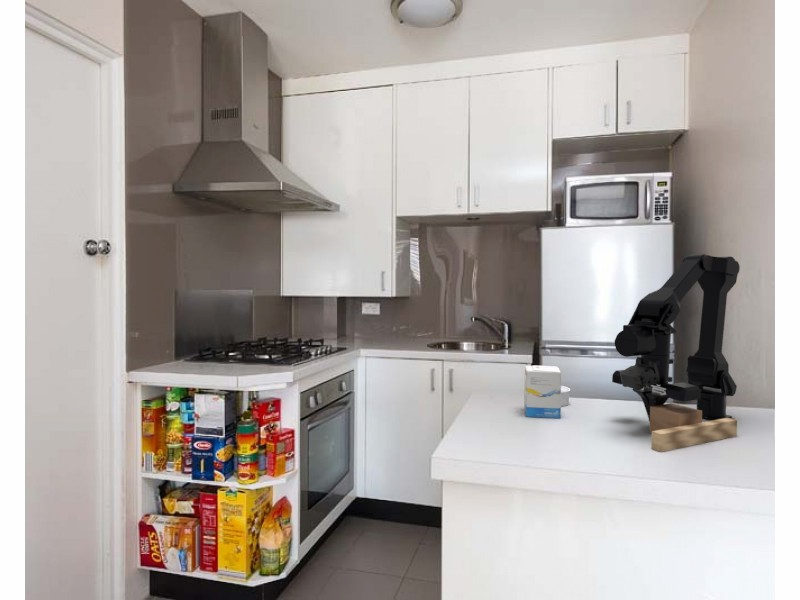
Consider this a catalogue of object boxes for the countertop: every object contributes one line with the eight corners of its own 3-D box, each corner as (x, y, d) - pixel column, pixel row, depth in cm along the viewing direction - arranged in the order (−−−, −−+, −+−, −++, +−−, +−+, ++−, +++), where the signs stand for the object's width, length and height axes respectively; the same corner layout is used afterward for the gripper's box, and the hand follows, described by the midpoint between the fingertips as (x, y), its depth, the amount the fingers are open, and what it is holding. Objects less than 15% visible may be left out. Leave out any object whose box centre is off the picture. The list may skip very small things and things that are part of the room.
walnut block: (671, 429, 109) (671, 403, 109) (701, 438, 103) (702, 410, 103) (649, 433, 107) (650, 406, 106) (679, 443, 100) (679, 414, 100)
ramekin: (571, 408, 128) (571, 392, 128) (536, 406, 131) (536, 390, 131) (569, 400, 137) (569, 385, 137) (536, 398, 139) (536, 383, 139)
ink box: (561, 419, 118) (561, 371, 118) (525, 417, 120) (526, 370, 120) (557, 410, 127) (557, 365, 126) (523, 408, 128) (524, 364, 128)
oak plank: (727, 433, 107) (727, 417, 107) (736, 436, 105) (737, 420, 105) (651, 448, 97) (651, 431, 97) (660, 451, 95) (660, 434, 95)
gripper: (596, 348, 114) (593, 413, 115) (667, 363, 97) (663, 439, 98) (630, 346, 119) (627, 408, 120) (704, 360, 102) (700, 433, 103)
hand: (651, 421), depth 110 cm, fingers closed
